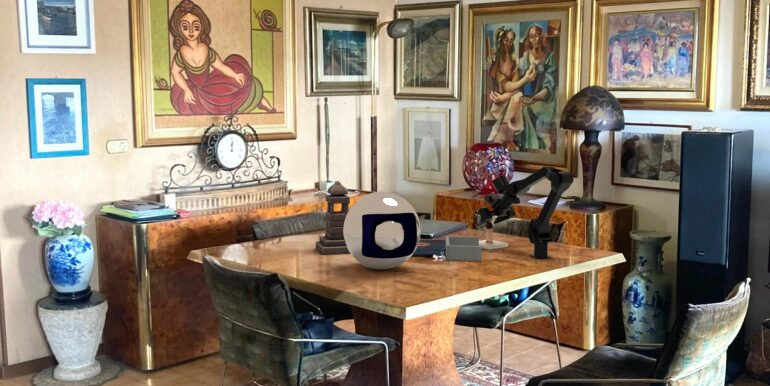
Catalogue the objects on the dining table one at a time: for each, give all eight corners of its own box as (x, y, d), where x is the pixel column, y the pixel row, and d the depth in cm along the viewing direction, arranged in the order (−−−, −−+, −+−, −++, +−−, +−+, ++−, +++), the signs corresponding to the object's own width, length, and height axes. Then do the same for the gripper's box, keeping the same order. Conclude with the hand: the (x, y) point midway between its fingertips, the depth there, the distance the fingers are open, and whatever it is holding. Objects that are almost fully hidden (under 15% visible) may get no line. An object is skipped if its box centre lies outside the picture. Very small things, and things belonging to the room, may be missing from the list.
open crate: (478, 250, 385) (478, 236, 385) (481, 261, 362) (481, 246, 362) (445, 249, 386) (445, 236, 385) (446, 260, 363) (446, 245, 362)
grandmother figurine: (497, 243, 393) (498, 215, 392) (490, 244, 392) (491, 215, 390) (487, 241, 400) (488, 213, 398) (480, 241, 398) (481, 213, 397)
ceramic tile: (508, 246, 395) (508, 243, 395) (488, 249, 388) (488, 246, 388) (488, 242, 405) (488, 239, 404) (469, 245, 397) (469, 242, 397)
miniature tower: (322, 255, 371) (322, 183, 367) (315, 248, 385) (315, 179, 382) (360, 253, 376) (360, 182, 372) (351, 247, 390) (352, 178, 386)
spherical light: (353, 279, 327) (354, 197, 324) (335, 263, 355) (335, 188, 352) (430, 275, 336) (431, 195, 332) (406, 259, 364) (407, 186, 360)
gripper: (511, 186, 396) (493, 208, 405) (481, 189, 384) (463, 211, 394) (524, 206, 390) (505, 227, 400) (493, 209, 379) (475, 231, 389)
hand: (487, 224), depth 396 cm, fingers open, 9 cm apart
